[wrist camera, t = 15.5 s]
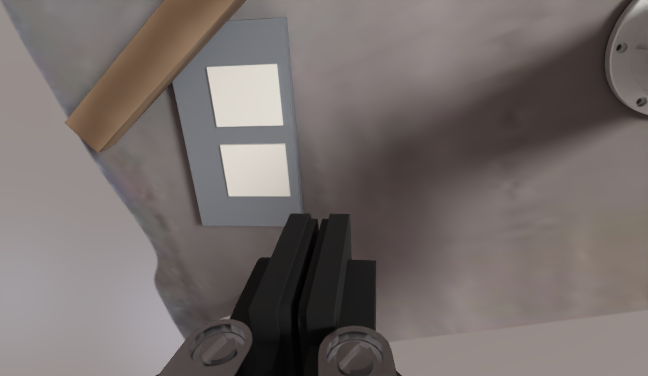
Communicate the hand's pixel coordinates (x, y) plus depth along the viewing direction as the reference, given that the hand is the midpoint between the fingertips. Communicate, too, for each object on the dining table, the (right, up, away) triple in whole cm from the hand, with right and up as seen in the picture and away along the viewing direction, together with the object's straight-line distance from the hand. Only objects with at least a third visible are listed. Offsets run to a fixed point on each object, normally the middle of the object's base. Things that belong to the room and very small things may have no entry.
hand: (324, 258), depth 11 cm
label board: (-9, +8, +31) cm, 34 cm away
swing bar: (-15, +15, +26) cm, 33 cm away
